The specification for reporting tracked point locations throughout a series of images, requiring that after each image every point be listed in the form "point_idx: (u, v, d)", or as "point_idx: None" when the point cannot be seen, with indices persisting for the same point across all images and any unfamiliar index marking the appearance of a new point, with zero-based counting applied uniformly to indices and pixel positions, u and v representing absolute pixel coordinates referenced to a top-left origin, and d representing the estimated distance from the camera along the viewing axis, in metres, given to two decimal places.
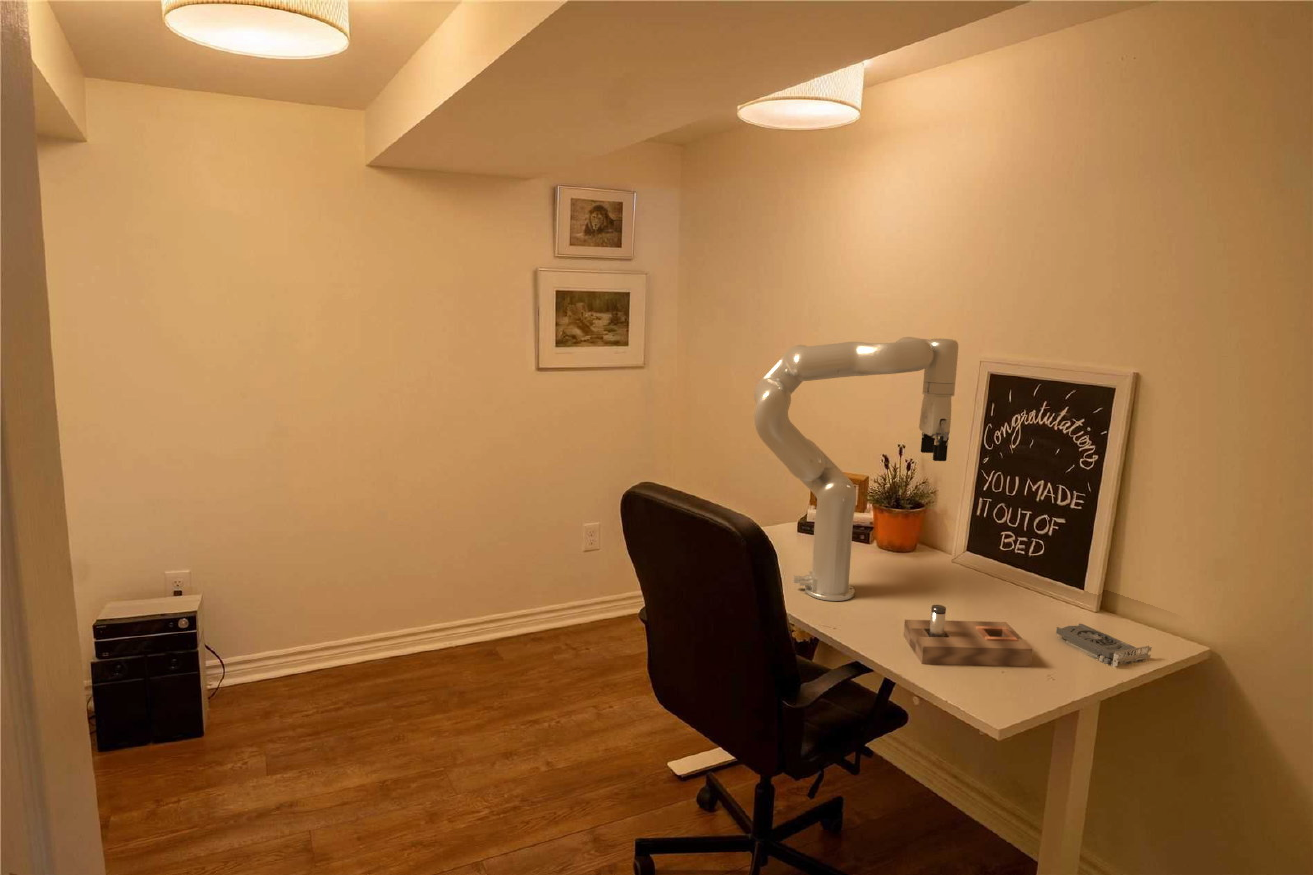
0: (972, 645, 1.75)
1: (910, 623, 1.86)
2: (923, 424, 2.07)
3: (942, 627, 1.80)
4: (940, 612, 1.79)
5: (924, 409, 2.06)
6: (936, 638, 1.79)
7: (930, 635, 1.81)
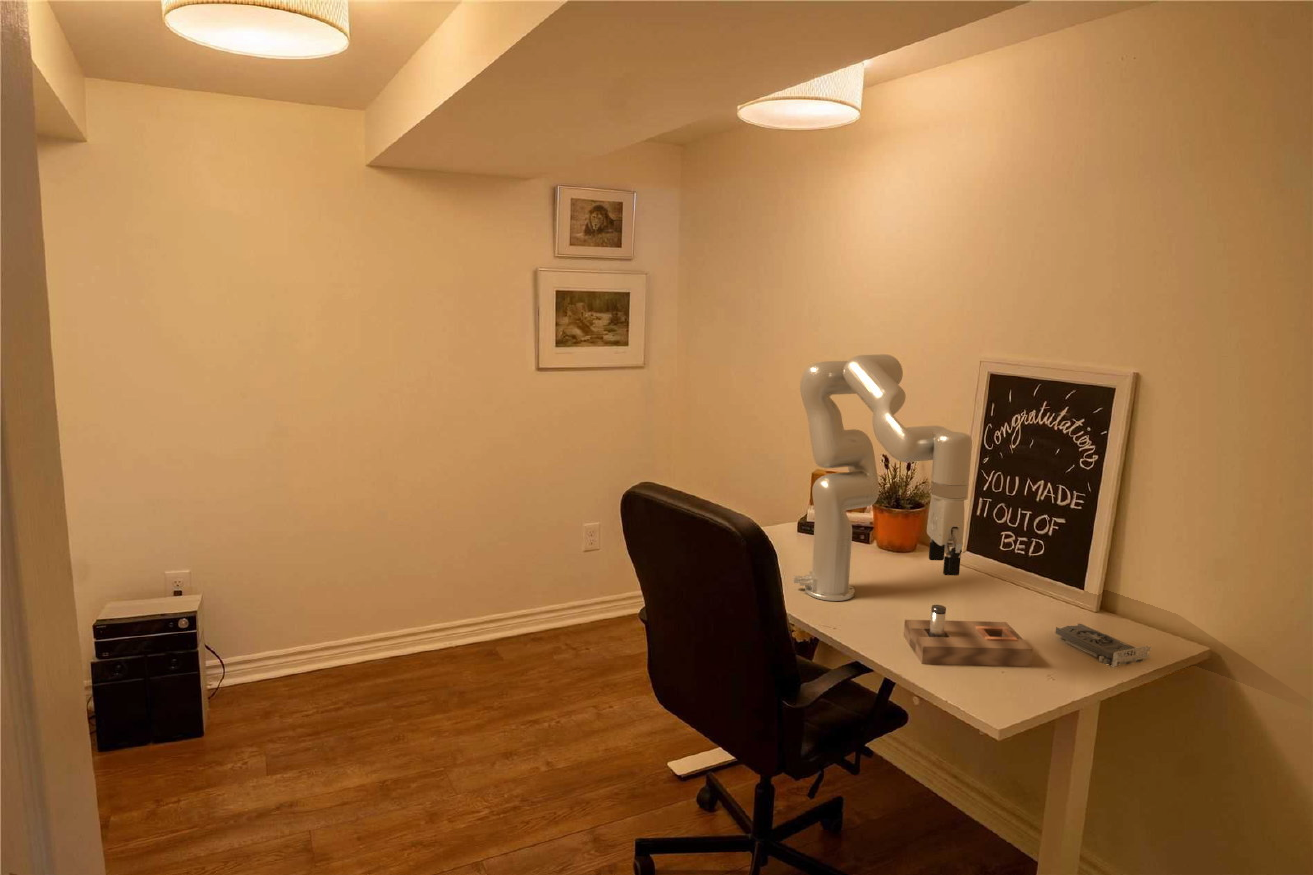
0: (972, 645, 1.75)
1: (910, 623, 1.86)
2: (932, 530, 1.78)
3: (942, 627, 1.80)
4: (940, 612, 1.79)
5: (932, 513, 1.77)
6: (936, 638, 1.79)
7: (930, 635, 1.81)
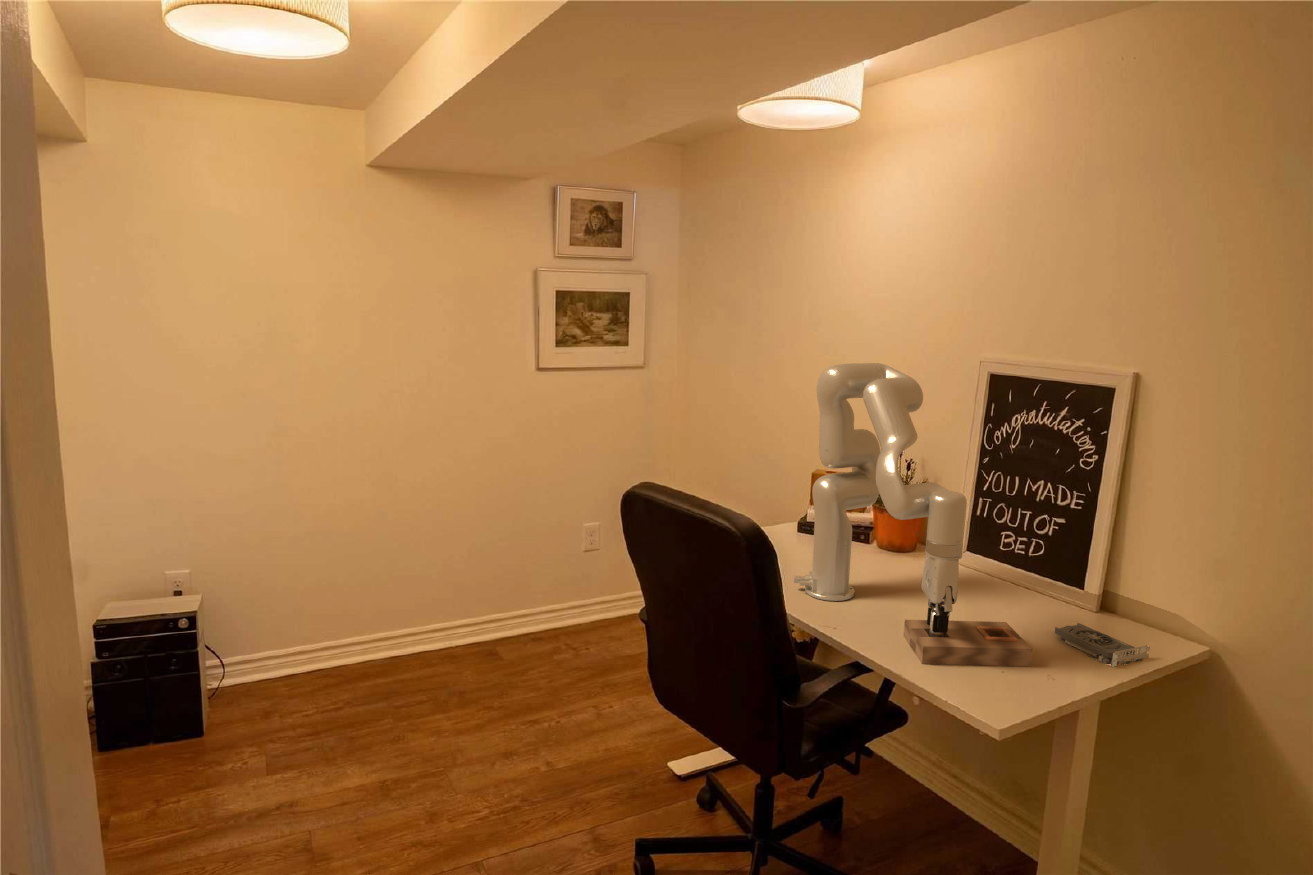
0: (972, 645, 1.75)
1: (910, 623, 1.86)
2: (926, 586, 1.80)
3: None
4: None
5: (927, 570, 1.80)
6: (936, 638, 1.79)
7: (930, 635, 1.81)
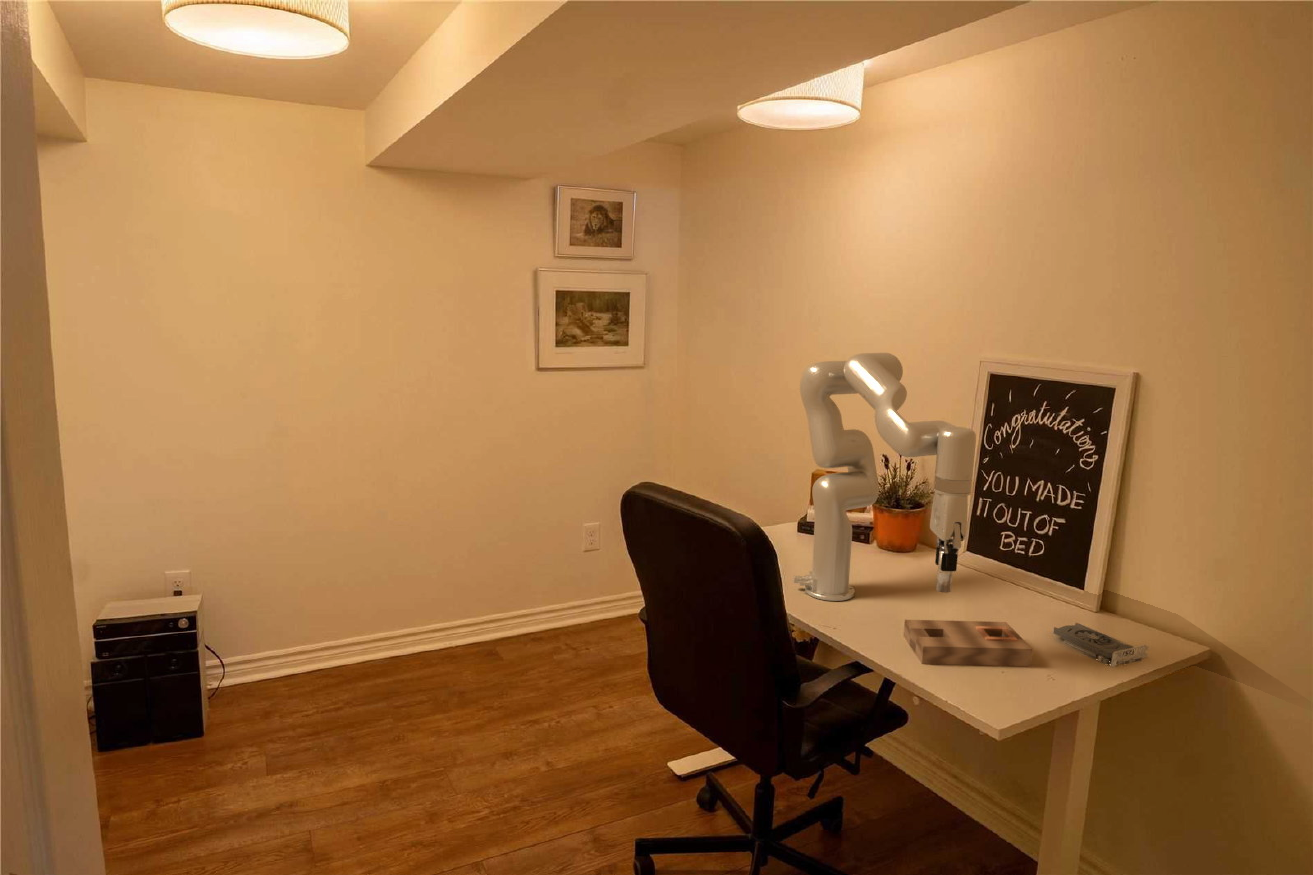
0: (972, 645, 1.75)
1: (910, 623, 1.86)
2: (935, 525, 1.78)
3: None
4: None
5: (936, 508, 1.77)
6: (936, 638, 1.79)
7: (938, 574, 1.79)
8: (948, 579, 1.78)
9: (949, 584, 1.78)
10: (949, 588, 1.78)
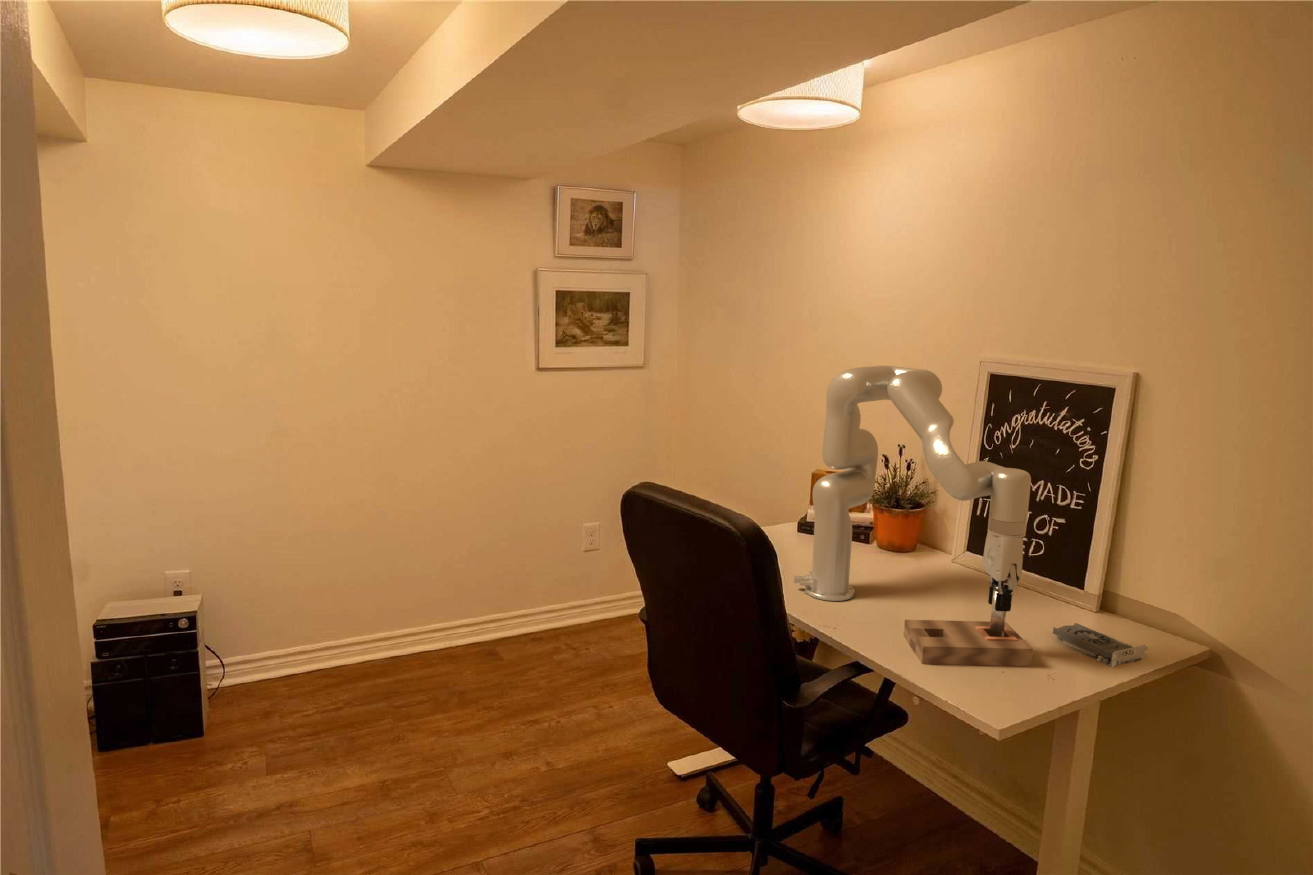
0: (972, 645, 1.75)
1: (910, 623, 1.86)
2: (988, 565, 1.79)
3: None
4: None
5: (989, 548, 1.79)
6: (936, 638, 1.79)
7: (992, 614, 1.80)
8: (1002, 619, 1.79)
9: (1003, 624, 1.80)
10: (1003, 627, 1.80)
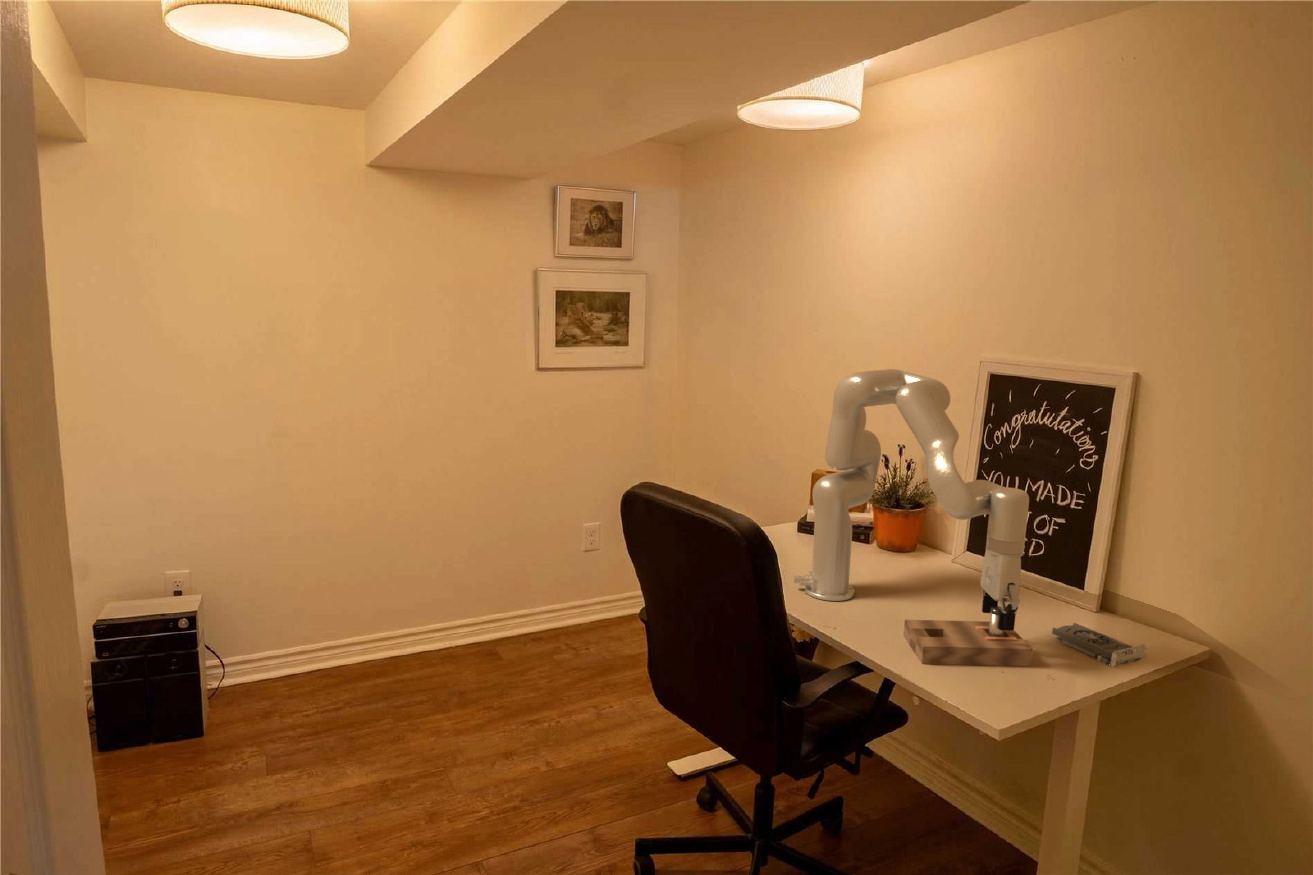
0: (972, 645, 1.75)
1: (910, 623, 1.86)
2: (986, 583, 1.80)
3: None
4: None
5: (987, 567, 1.80)
6: (936, 638, 1.79)
7: None
8: None
9: None
10: None
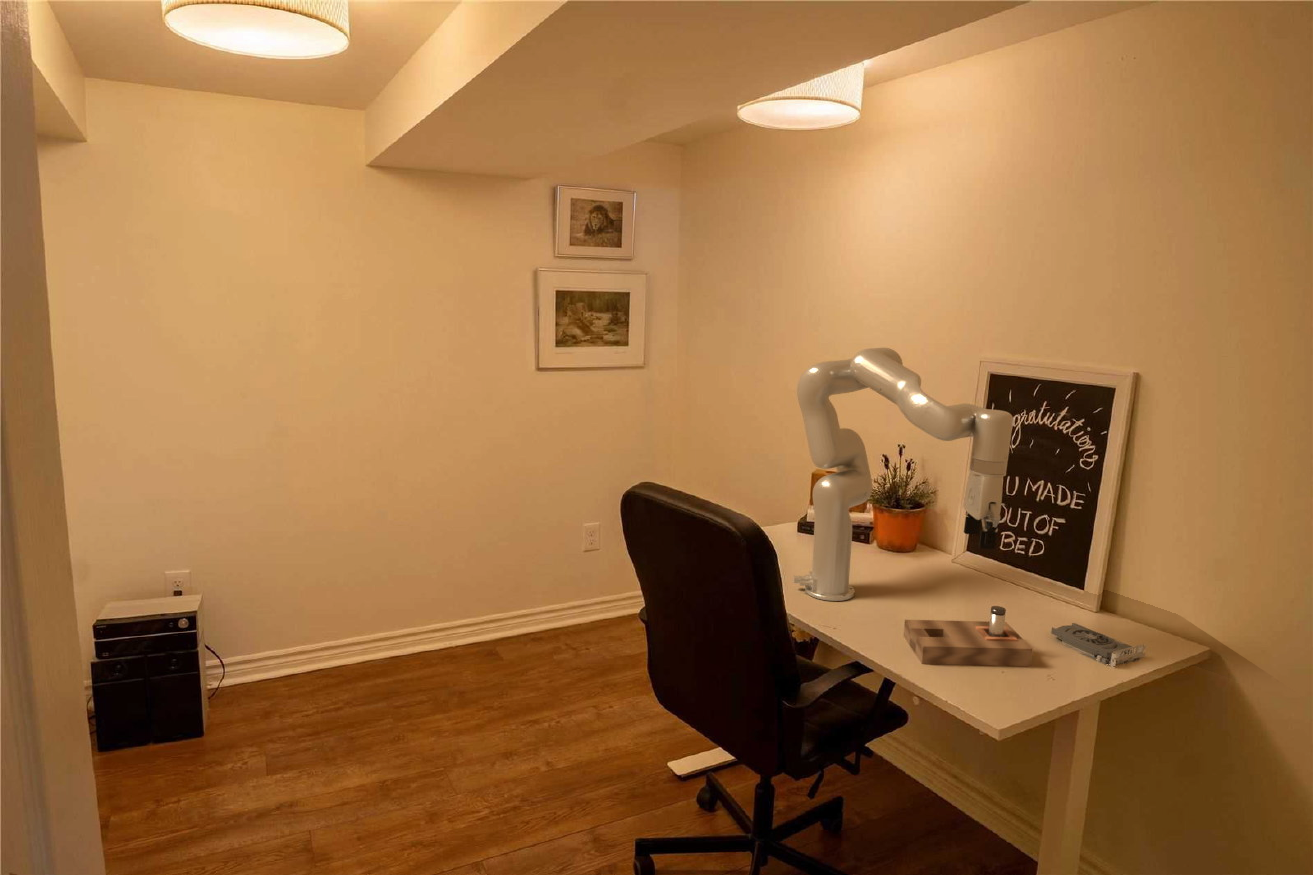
0: (972, 645, 1.75)
1: (910, 623, 1.86)
2: (969, 504, 1.83)
3: (1002, 628, 1.80)
4: (1000, 613, 1.79)
5: (970, 488, 1.83)
6: (936, 638, 1.79)
7: None
8: None
9: None
10: None
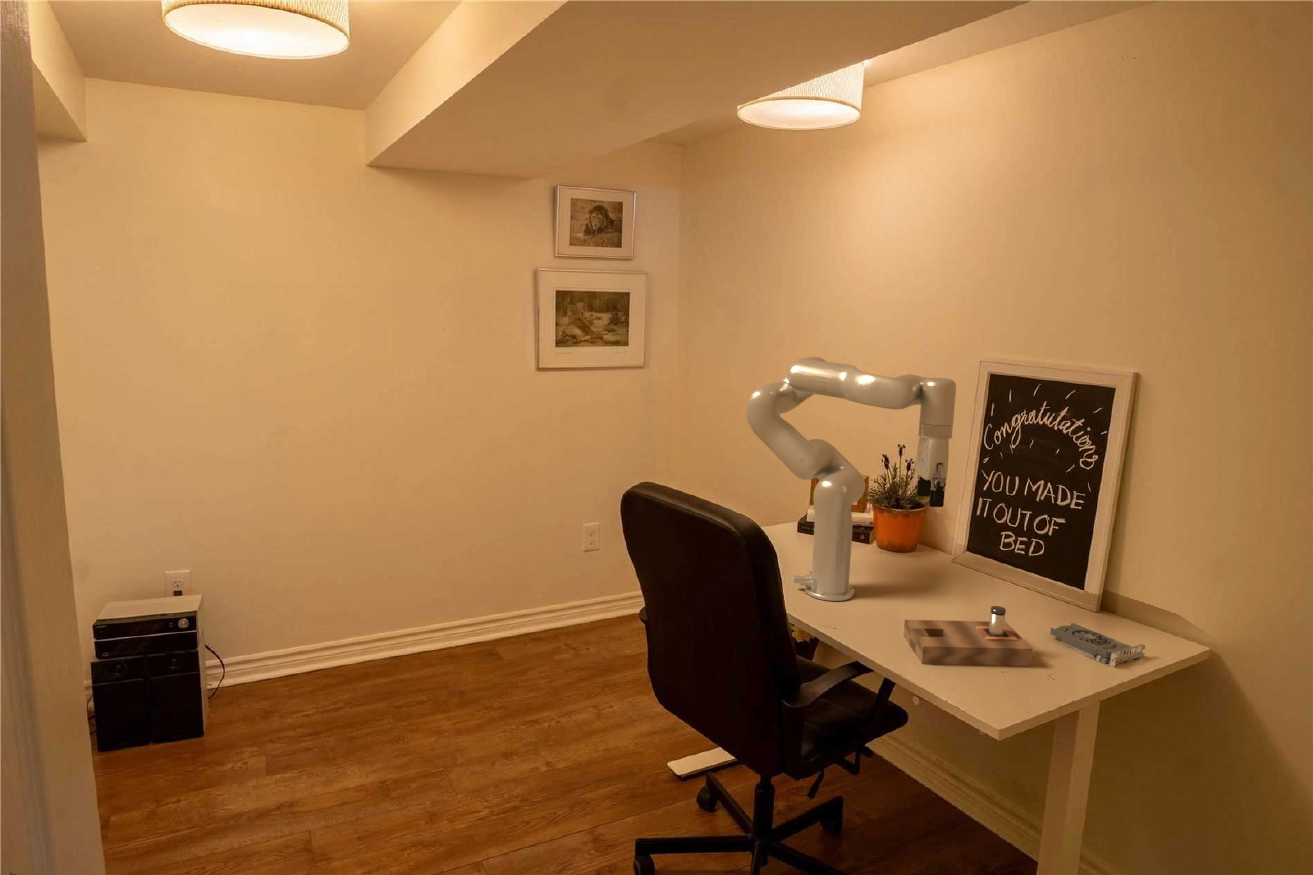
0: (972, 645, 1.75)
1: (910, 623, 1.86)
2: (919, 467, 1.97)
3: (1002, 628, 1.80)
4: (1000, 613, 1.79)
5: (920, 451, 1.96)
6: (936, 638, 1.79)
7: None
8: None
9: None
10: None
